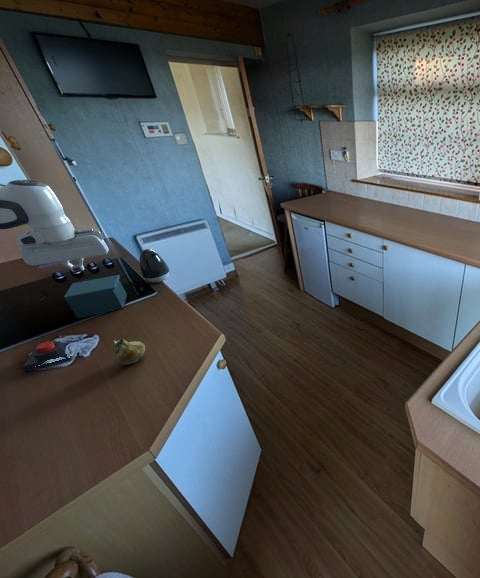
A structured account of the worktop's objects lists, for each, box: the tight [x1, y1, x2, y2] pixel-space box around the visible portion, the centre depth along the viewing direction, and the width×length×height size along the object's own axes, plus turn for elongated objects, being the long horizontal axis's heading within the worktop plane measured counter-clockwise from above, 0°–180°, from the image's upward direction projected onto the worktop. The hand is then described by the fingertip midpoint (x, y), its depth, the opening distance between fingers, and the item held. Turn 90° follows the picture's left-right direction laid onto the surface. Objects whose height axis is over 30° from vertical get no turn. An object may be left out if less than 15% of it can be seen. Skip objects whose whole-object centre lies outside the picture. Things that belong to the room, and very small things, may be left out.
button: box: [35, 340, 56, 353], centre depth 90 cm, size 4×4×2 cm
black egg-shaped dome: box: [139, 248, 170, 283], centre depth 132 cm, size 10×10×15 cm
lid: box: [63, 274, 121, 300], centre depth 112 cm, size 14×12×1 cm
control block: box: [22, 339, 75, 372], centre depth 92 cm, size 10×8×4 cm
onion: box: [112, 338, 146, 366], centre depth 90 cm, size 8×8×8 cm
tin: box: [64, 279, 128, 320], centre depth 115 cm, size 14×12×9 cm
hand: (78, 270), depth 102 cm, fingers closed
